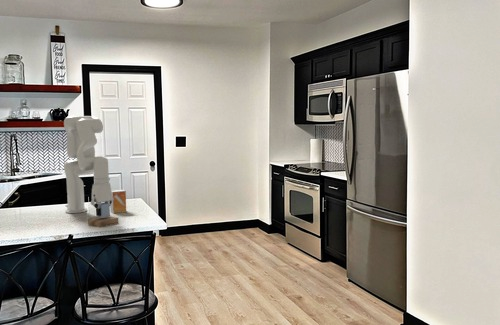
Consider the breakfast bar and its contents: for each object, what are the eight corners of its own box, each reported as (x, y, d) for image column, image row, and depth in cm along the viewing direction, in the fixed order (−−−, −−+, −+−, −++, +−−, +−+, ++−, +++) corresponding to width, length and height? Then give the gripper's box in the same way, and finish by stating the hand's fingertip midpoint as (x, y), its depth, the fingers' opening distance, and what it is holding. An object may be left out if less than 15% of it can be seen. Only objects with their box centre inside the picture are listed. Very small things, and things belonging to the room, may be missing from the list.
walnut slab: (88, 224, 247) (88, 219, 246) (104, 220, 256) (104, 215, 255) (101, 227, 241) (101, 221, 240) (118, 223, 250) (118, 217, 250)
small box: (113, 213, 276) (112, 191, 275) (110, 211, 281) (109, 190, 280) (126, 211, 281) (125, 190, 279) (123, 210, 286) (122, 189, 285)
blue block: (96, 216, 247) (95, 204, 246) (103, 215, 251) (103, 202, 251) (102, 217, 244) (101, 204, 244) (110, 216, 249) (109, 203, 248)
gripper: (109, 178, 255) (110, 211, 257) (83, 182, 241) (85, 216, 243) (118, 179, 251) (120, 212, 253) (92, 183, 237) (94, 218, 239)
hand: (102, 214), depth 248 cm, fingers closed on blue block, 4 cm apart
